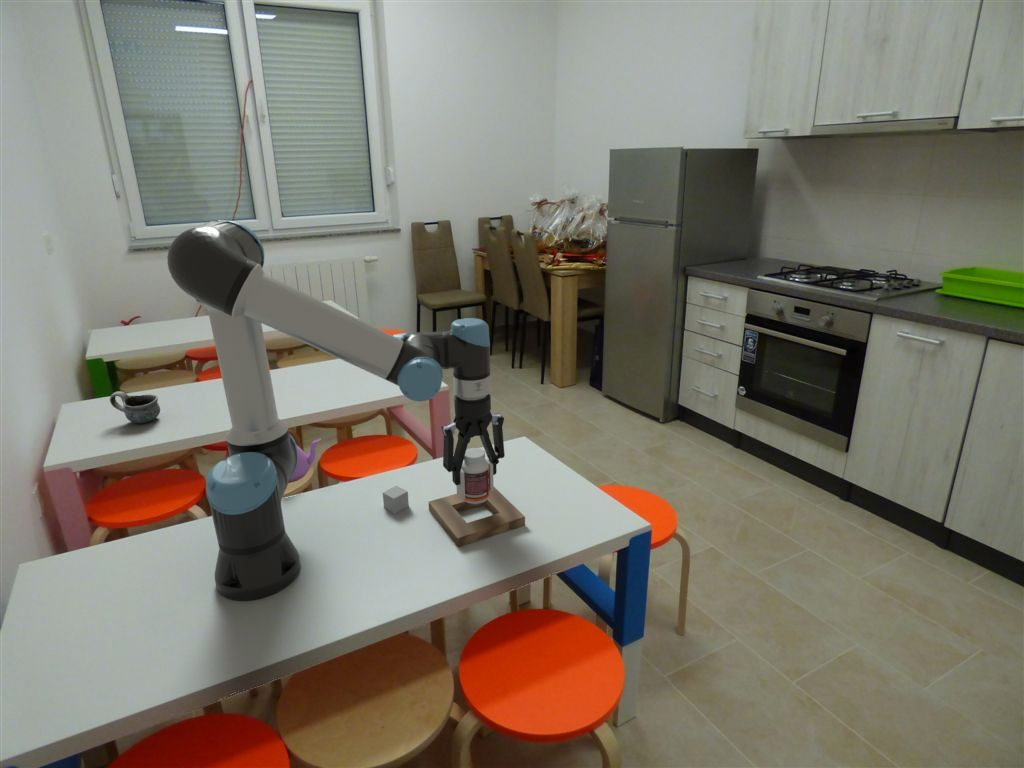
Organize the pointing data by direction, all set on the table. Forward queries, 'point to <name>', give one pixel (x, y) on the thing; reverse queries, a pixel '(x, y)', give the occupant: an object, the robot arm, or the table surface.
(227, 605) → the table surface
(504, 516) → the socket board
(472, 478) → the pill bottle
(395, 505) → the grey eraser block
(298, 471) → the teapot
